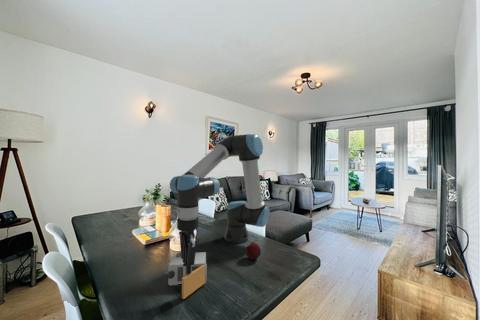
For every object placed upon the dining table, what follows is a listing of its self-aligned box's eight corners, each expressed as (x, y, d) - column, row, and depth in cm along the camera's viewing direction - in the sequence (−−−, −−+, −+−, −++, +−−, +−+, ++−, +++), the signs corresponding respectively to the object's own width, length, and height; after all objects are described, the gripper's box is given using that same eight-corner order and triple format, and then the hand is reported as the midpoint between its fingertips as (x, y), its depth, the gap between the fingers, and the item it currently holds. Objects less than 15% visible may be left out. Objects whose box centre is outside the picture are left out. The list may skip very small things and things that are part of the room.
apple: (252, 253, 108) (252, 238, 108) (264, 259, 102) (264, 243, 102) (242, 258, 103) (242, 242, 103) (254, 264, 97) (254, 247, 97)
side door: (205, 280, 82) (205, 263, 82) (207, 281, 81) (207, 264, 81) (181, 297, 72) (181, 278, 72) (184, 299, 71) (184, 279, 71)
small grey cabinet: (205, 269, 92) (205, 250, 92) (204, 285, 81) (204, 262, 81) (173, 271, 90) (173, 251, 90) (167, 287, 79) (167, 264, 79)
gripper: (172, 214, 78) (172, 275, 79) (183, 224, 67) (182, 294, 68) (191, 211, 82) (191, 269, 83) (204, 220, 72) (203, 286, 72)
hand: (187, 280), depth 75 cm, fingers closed
